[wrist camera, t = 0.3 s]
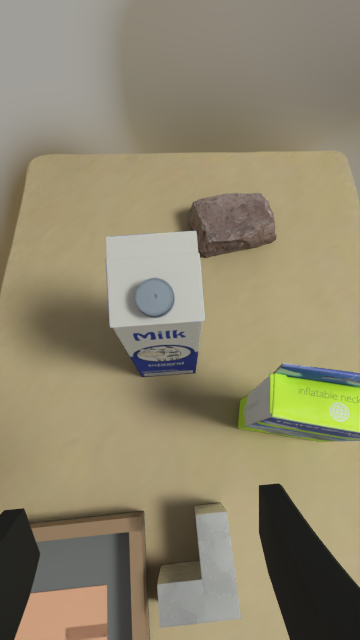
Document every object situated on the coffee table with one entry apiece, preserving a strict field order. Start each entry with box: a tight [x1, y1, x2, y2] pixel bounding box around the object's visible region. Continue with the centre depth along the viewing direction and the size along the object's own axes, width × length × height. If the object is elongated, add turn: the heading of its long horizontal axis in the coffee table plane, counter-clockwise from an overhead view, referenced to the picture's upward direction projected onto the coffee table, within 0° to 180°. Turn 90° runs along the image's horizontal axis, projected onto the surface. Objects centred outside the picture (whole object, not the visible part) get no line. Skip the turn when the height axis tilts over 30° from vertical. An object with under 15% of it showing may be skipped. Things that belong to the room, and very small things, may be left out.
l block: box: [157, 503, 241, 628], centre depth 31 cm, size 8×7×5 cm
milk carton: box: [106, 231, 205, 377], centre depth 32 cm, size 7×7×20 cm
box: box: [238, 363, 360, 442], centre depth 30 cm, size 10×4×17 cm, turn 81°
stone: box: [189, 193, 276, 257], centre depth 46 cm, size 12×9×5 cm
